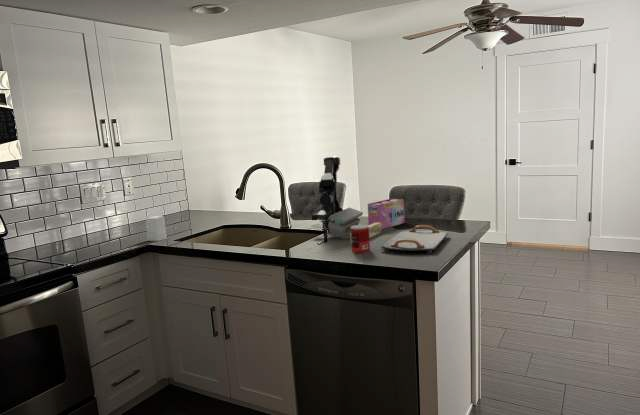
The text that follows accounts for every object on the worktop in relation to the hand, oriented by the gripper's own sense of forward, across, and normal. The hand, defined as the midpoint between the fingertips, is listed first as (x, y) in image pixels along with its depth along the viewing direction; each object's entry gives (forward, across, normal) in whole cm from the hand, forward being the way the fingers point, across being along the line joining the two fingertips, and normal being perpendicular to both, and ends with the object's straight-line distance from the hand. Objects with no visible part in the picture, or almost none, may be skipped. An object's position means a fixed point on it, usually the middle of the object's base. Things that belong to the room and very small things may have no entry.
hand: (330, 233), depth 243 cm
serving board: (+2, +48, -7) cm, 48 cm away
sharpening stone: (0, +6, 0) cm, 6 cm away
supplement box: (+2, -94, -30) cm, 98 cm away
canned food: (+2, +29, -26) cm, 39 cm away
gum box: (+1, +18, +32) cm, 36 cm away
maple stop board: (+1, +20, 0) cm, 20 cm away
